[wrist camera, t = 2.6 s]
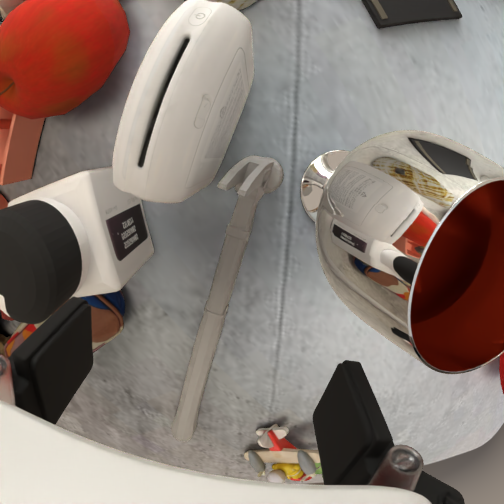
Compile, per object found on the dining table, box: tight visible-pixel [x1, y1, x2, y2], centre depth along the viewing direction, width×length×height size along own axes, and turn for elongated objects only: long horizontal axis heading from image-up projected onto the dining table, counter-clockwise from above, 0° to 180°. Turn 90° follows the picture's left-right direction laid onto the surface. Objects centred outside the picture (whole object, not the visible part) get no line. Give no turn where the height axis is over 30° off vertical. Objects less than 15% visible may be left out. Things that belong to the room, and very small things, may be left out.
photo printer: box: [113, 0, 254, 203], centre depth 16 cm, size 10×4×12 cm, turn 159°
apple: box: [0, 0, 130, 120], centre depth 15 cm, size 10×10×12 cm
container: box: [0, 166, 154, 324], centre depth 18 cm, size 8×8×13 cm
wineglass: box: [300, 130, 504, 374], centre depth 15 cm, size 8×8×18 cm
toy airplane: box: [244, 424, 321, 483], centre depth 29 cm, size 9×9×6 cm
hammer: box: [171, 155, 284, 442], centre depth 23 cm, size 3×10×30 cm
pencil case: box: [4, 290, 125, 358], centre depth 26 cm, size 11×20×5 cm, turn 143°
